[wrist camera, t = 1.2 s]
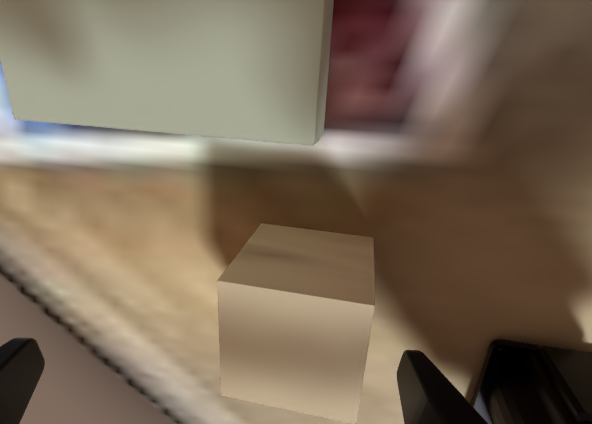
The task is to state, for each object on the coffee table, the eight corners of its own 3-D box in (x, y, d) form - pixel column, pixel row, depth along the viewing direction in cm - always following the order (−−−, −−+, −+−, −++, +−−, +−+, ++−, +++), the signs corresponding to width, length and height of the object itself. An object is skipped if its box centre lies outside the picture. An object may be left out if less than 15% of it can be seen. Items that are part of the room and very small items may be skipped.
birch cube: (359, 330, 20) (355, 424, 15) (260, 313, 21) (221, 395, 16) (373, 236, 18) (374, 305, 13) (261, 222, 19) (217, 280, 13)
